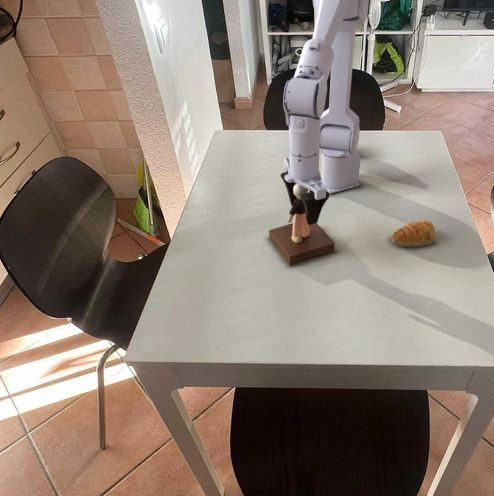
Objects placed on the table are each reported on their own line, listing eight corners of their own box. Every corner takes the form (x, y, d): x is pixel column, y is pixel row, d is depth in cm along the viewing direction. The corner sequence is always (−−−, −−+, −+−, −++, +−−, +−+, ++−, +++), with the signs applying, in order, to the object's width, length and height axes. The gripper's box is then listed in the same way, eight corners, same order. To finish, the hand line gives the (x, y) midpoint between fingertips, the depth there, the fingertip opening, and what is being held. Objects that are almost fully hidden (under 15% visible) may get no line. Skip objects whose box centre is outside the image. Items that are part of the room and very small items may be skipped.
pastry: (399, 252, 94) (402, 238, 92) (385, 236, 99) (388, 221, 96) (437, 244, 96) (441, 229, 93) (421, 228, 100) (425, 213, 98)
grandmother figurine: (300, 247, 92) (300, 193, 83) (285, 242, 94) (283, 188, 84) (317, 229, 96) (319, 176, 87) (302, 224, 98) (303, 171, 88)
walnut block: (311, 226, 102) (311, 217, 100) (334, 252, 95) (334, 242, 93) (269, 239, 99) (268, 230, 97) (289, 266, 92) (289, 256, 90)
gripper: (269, 139, 84) (273, 202, 94) (302, 172, 75) (302, 237, 86) (301, 132, 86) (301, 194, 96) (337, 163, 77) (333, 227, 88)
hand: (304, 214), depth 91 cm, fingers open, 7 cm apart
